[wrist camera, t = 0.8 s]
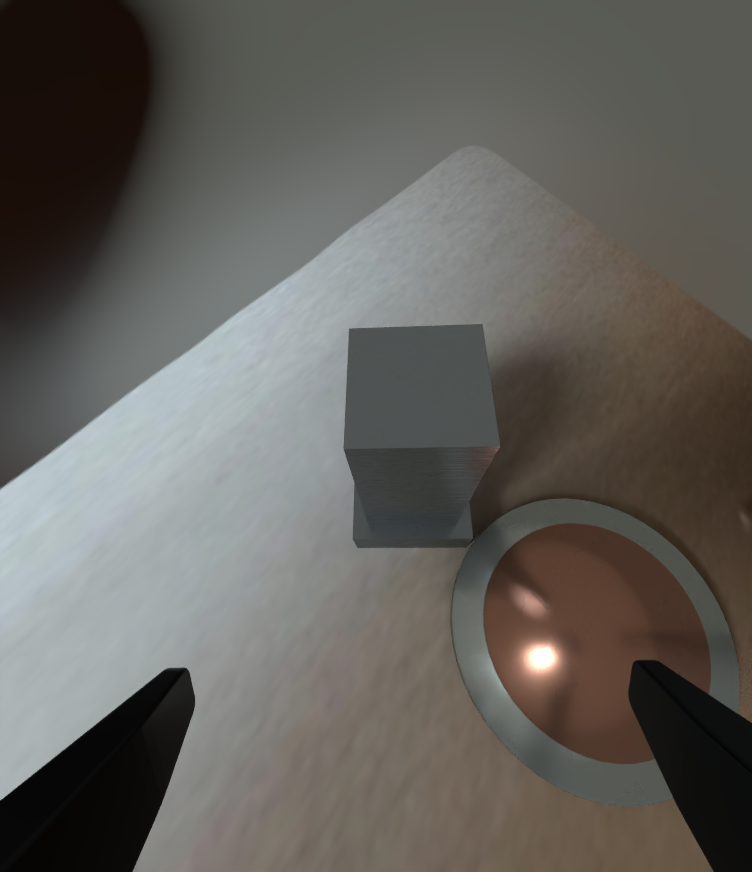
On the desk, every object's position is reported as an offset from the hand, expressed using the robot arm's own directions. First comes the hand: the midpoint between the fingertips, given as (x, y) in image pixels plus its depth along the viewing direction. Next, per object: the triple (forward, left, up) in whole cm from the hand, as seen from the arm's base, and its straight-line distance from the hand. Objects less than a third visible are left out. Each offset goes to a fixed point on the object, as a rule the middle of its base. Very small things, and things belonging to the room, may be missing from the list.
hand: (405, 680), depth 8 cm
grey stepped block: (+7, +3, -13) cm, 15 cm away
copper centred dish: (+4, -8, -13) cm, 16 cm away
